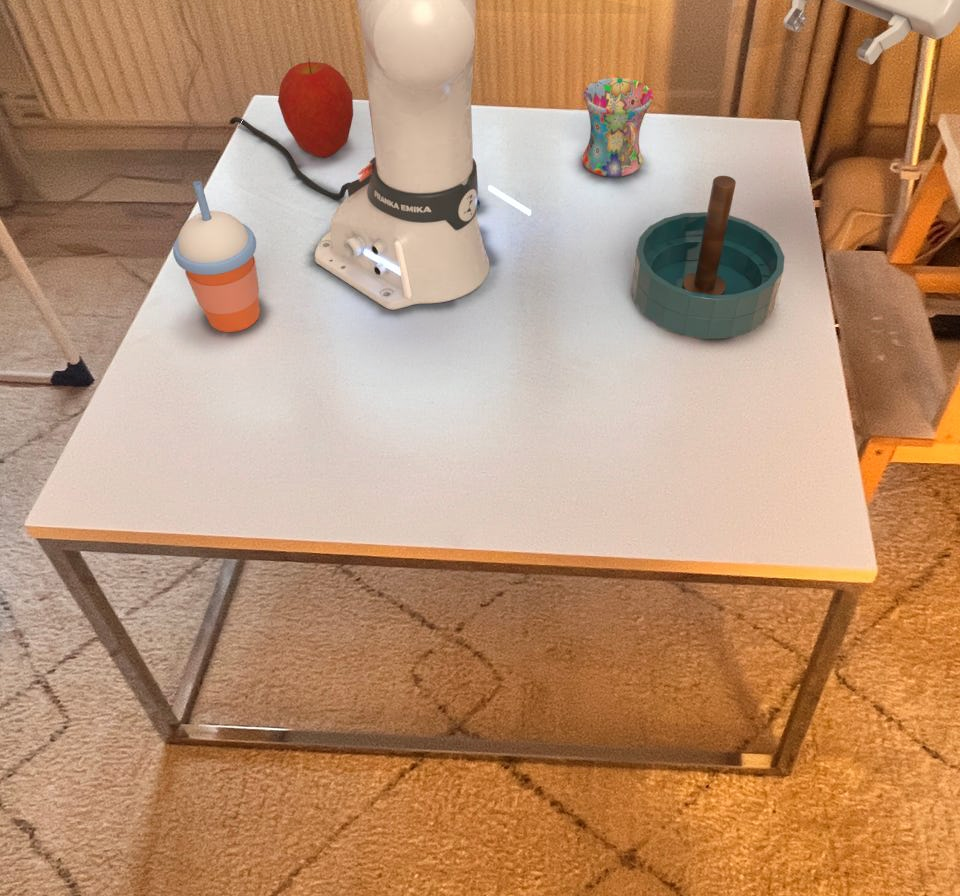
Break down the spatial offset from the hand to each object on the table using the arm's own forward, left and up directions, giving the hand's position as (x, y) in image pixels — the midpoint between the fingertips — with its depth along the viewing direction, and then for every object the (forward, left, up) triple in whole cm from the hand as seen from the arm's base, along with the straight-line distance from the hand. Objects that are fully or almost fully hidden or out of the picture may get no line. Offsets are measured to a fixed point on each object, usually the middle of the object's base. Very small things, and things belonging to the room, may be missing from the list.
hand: (825, 43), depth 96 cm
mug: (-26, +8, -27) cm, 39 cm away
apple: (-65, -9, -27) cm, 71 cm away
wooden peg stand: (-4, -12, -26) cm, 29 cm away
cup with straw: (-50, -44, -27) cm, 72 cm away
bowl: (-4, -12, -27) cm, 30 cm away
